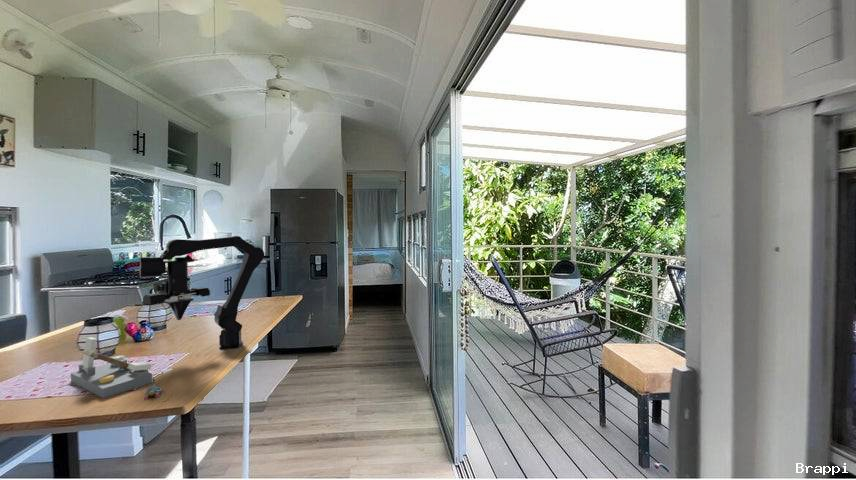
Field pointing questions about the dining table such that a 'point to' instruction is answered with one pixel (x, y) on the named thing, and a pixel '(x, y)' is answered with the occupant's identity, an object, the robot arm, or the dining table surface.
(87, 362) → the lever grey
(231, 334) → the robot arm
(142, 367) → the rocker
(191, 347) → the dining table surface
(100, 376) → the console
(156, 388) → the bomb figurine
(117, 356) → the button
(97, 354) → the paddle walnut
